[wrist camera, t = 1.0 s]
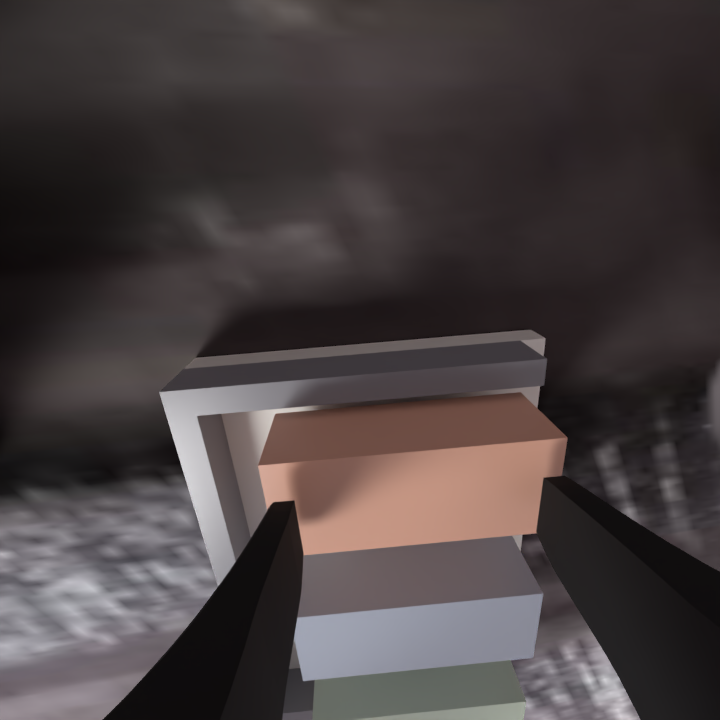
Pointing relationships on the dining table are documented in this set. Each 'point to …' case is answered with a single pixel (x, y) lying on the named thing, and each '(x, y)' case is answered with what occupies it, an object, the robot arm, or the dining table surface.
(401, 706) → the key sage
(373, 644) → the key slate
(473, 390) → the keypad
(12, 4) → the dining table surface
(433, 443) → the key terracotta
